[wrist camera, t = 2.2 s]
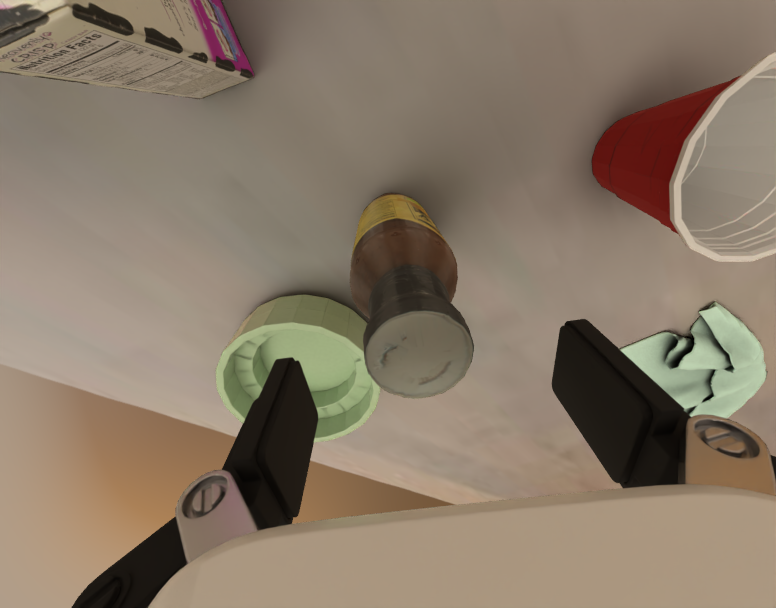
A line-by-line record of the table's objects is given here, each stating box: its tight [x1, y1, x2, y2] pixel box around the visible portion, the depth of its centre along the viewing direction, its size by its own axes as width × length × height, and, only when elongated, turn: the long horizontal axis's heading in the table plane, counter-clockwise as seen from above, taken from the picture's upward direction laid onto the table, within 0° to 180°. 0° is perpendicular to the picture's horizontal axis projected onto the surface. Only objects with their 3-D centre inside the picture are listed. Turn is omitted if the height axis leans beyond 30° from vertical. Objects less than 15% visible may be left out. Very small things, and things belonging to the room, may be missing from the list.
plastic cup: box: [592, 52, 776, 262], centre depth 21 cm, size 11×11×12 cm
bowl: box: [216, 294, 380, 442], centre depth 33 cm, size 15×15×6 cm
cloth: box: [619, 302, 767, 418], centre depth 38 cm, size 20×22×2 cm
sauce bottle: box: [350, 193, 474, 399], centre depth 20 cm, size 6×6×20 cm
